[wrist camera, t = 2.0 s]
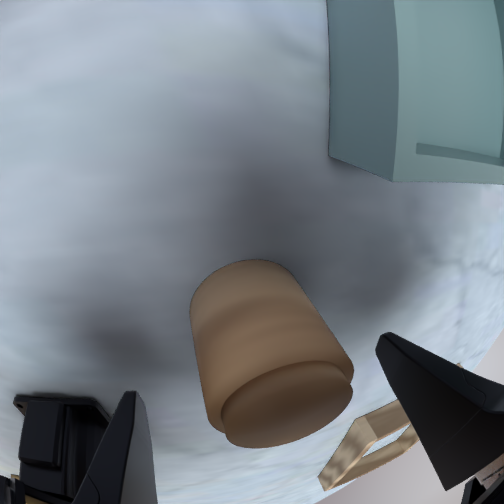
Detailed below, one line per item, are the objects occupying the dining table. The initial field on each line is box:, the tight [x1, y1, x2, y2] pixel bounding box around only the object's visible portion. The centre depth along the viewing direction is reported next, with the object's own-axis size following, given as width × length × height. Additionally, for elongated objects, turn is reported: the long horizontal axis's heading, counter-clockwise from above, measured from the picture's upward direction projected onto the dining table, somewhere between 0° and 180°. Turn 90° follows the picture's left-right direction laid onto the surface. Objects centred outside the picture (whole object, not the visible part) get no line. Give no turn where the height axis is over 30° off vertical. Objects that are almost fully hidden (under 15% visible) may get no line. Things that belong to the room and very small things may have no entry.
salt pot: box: [190, 260, 354, 448], centre depth 10 cm, size 5×5×6 cm
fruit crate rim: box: [318, 363, 463, 491], centre depth 28 cm, size 22×16×3 cm
